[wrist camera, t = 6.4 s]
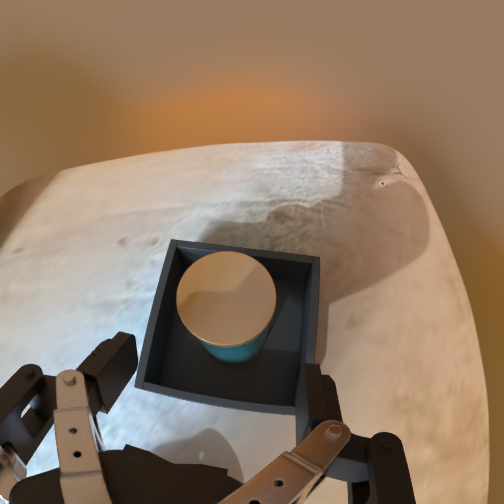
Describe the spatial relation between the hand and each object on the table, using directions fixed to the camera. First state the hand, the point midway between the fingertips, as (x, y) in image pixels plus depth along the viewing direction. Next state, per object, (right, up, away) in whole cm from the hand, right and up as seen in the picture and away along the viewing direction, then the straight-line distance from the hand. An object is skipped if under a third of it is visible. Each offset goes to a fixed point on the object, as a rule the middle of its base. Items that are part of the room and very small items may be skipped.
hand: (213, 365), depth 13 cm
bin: (0, -1, +9) cm, 10 cm away
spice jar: (0, -1, +9) cm, 9 cm away
